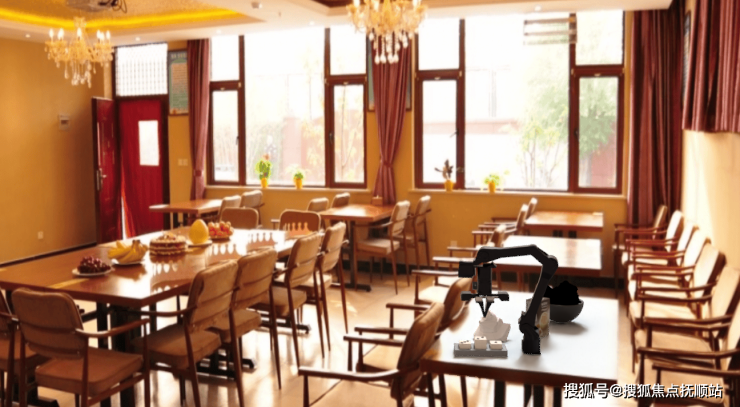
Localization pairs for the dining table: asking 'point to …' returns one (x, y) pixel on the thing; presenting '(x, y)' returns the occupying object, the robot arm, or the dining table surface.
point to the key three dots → (464, 344)
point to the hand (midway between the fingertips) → (484, 317)
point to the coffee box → (542, 316)
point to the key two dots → (480, 342)
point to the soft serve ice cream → (492, 328)
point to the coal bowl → (564, 302)
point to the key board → (481, 351)
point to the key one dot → (495, 345)
